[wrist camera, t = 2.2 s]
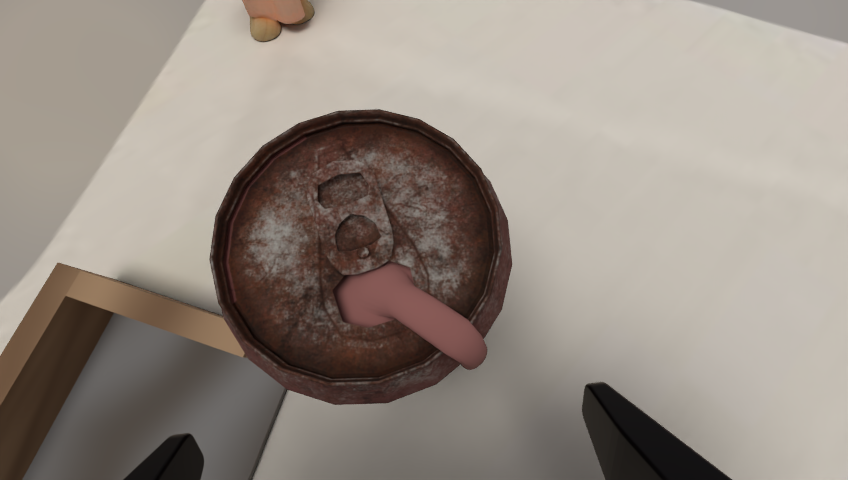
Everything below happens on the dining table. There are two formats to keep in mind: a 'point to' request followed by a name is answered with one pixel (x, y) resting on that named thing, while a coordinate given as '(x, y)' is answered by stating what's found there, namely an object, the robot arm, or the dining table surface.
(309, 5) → the grandmother figurine
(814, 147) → the dining table surface
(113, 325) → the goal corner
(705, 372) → the dining table surface
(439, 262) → the can
